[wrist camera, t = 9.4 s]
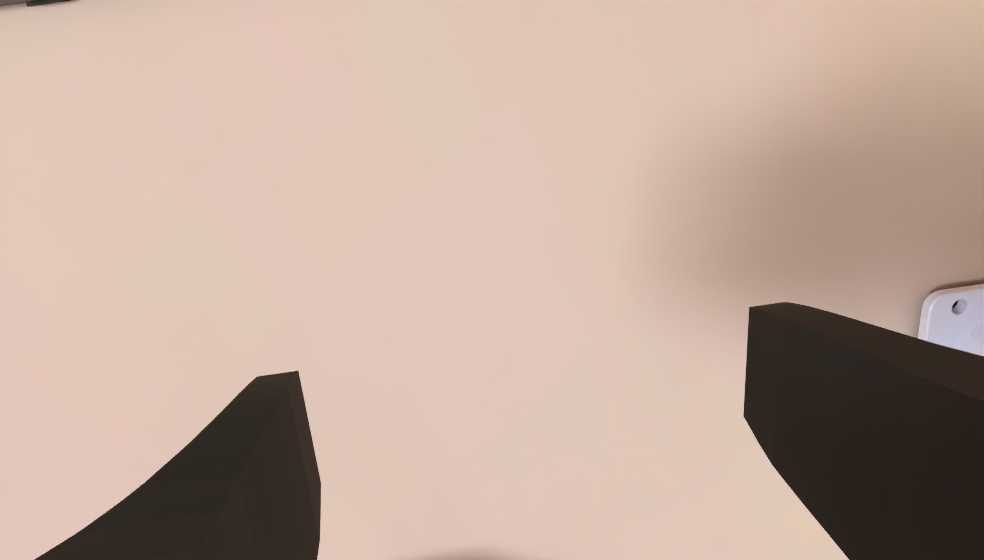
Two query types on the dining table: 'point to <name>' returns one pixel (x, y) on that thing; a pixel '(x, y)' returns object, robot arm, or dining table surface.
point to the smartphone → (29, 2)
